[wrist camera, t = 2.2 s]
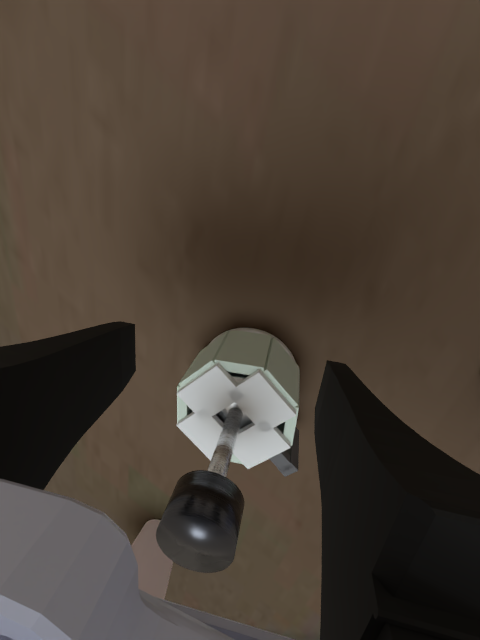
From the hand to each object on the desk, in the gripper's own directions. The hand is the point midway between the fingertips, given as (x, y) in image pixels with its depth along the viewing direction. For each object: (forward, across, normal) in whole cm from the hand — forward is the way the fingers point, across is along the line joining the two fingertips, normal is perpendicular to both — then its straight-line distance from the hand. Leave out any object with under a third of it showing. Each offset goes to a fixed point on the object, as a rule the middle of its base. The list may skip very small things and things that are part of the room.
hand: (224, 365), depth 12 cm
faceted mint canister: (+10, 0, +6) cm, 12 cm away
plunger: (+5, 0, +6) cm, 8 cm away
